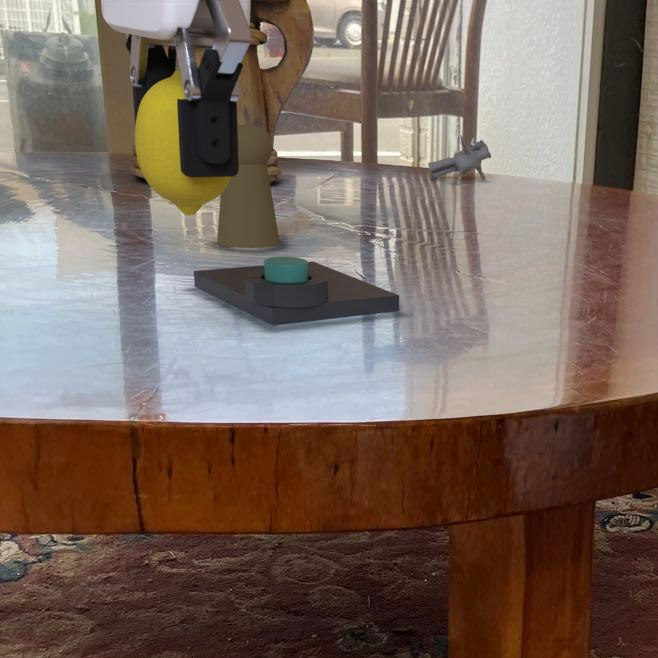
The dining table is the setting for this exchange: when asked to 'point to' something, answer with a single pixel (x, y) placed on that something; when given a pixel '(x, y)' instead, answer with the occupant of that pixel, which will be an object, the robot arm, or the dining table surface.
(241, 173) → the cork
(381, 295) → the dark button base
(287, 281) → the button
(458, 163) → the grey branched piece
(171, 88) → the lemon
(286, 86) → the tankard
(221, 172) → the robot arm
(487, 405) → the dining table surface
